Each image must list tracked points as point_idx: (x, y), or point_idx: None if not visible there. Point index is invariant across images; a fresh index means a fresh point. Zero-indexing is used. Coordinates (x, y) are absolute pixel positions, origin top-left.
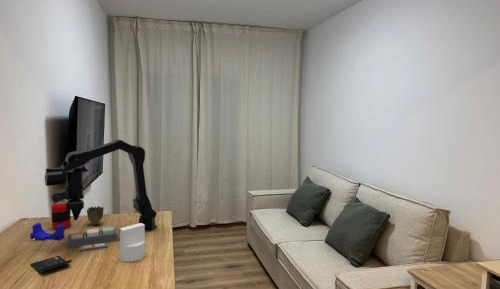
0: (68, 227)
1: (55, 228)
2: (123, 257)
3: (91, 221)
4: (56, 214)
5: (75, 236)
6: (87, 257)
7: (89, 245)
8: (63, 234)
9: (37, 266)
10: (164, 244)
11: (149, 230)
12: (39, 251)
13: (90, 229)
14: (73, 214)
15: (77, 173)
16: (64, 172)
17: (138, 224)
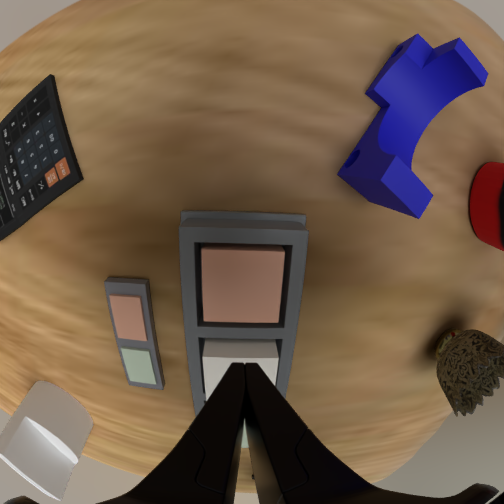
0: (475, 231)
1: (481, 172)
2: (30, 389)
3: (451, 340)
4: None
5: (239, 280)
6: (54, 301)
7: (138, 330)
8: (375, 200)
9: (19, 113)
10: (135, 470)
11: (252, 476)
12: (198, 69)
13: (274, 374)
14: (196, 424)
15: None
16: None
17: (47, 492)
